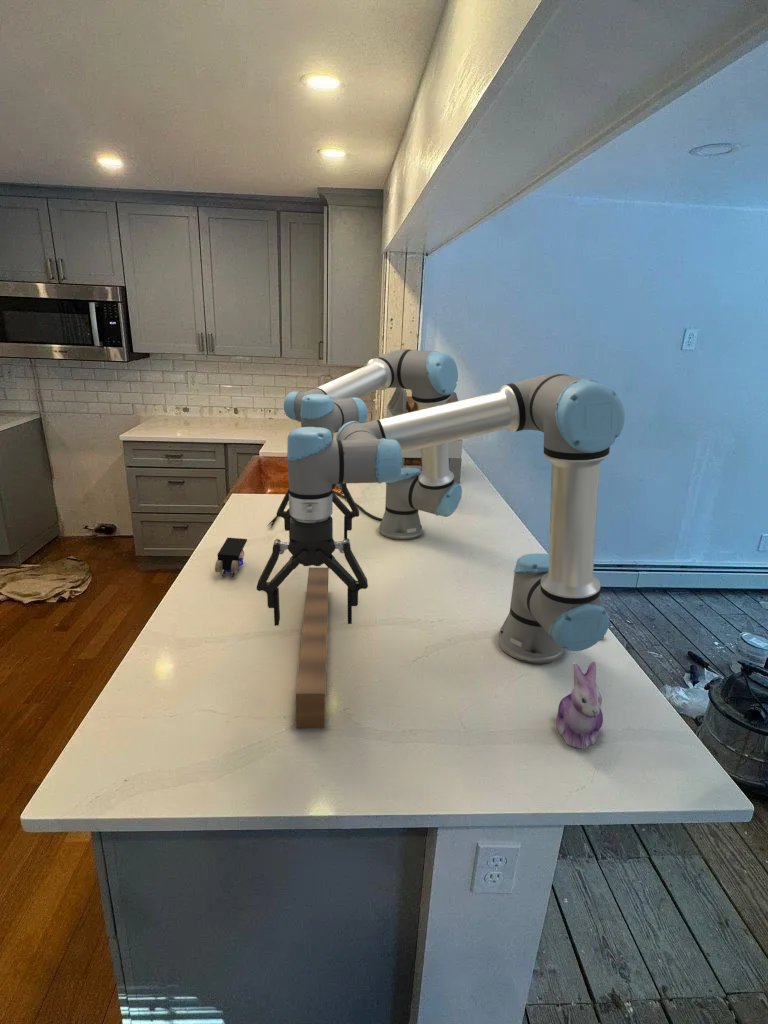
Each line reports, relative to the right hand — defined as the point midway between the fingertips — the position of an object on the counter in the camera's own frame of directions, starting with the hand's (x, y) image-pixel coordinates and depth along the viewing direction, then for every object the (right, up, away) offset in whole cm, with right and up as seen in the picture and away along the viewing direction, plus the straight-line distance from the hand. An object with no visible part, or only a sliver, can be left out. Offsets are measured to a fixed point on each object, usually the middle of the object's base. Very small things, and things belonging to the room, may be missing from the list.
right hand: (313, 621), depth 107 cm
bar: (-3, -11, +24) cm, 26 cm away
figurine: (+51, -22, +1) cm, 55 cm away
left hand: (-3, +13, +36) cm, 38 cm away
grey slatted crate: (+31, +39, +168) cm, 175 cm away
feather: (-26, +19, +104) cm, 109 cm away
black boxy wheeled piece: (-32, +4, +60) cm, 68 cm away
